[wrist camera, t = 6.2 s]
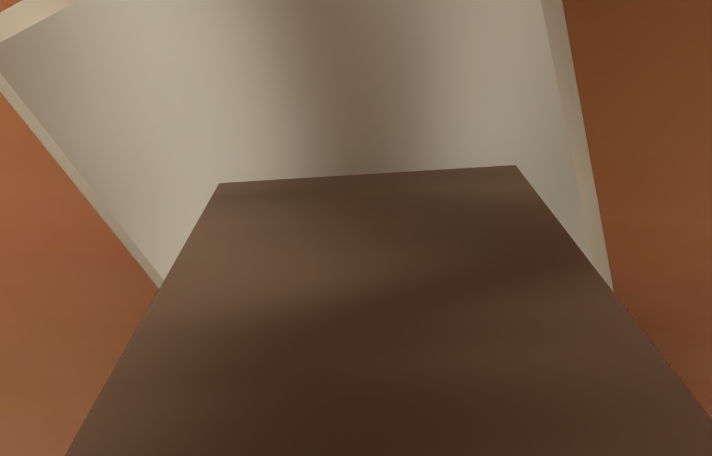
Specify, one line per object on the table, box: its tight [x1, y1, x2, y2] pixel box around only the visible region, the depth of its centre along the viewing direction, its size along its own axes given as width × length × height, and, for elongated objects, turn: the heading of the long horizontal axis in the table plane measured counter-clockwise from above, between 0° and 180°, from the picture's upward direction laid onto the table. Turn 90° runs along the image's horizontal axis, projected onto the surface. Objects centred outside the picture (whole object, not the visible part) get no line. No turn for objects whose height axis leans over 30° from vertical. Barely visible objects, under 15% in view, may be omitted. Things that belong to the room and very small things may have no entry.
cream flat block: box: [0, 0, 614, 292], centre depth 12 cm, size 10×14×4 cm
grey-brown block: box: [65, 165, 712, 456], centre depth 7 cm, size 5×5×6 cm
